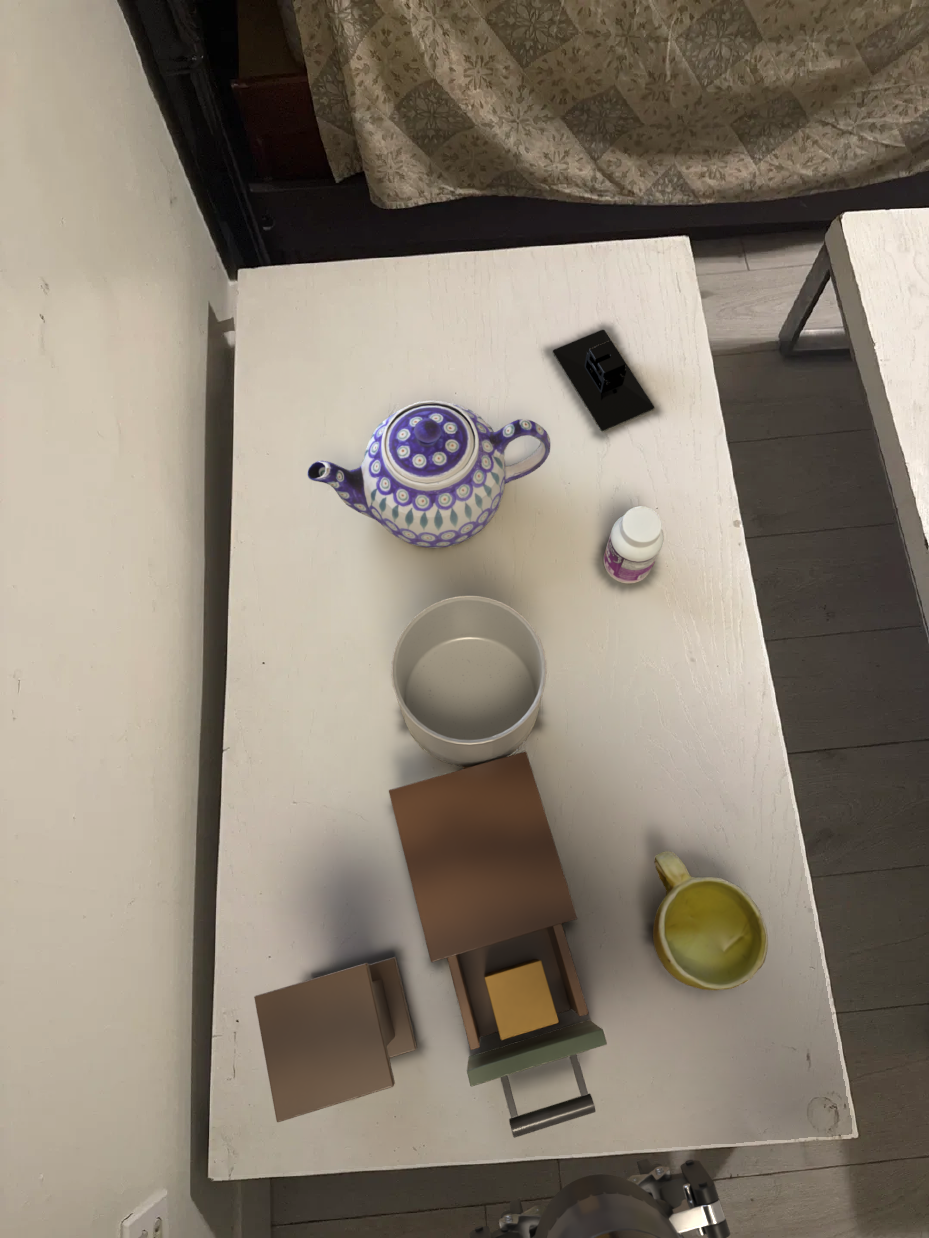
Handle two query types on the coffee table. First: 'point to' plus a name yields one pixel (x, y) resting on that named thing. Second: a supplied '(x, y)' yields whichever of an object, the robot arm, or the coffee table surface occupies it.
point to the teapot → (433, 472)
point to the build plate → (603, 380)
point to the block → (521, 998)
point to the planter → (469, 679)
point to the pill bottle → (634, 545)
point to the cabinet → (480, 856)
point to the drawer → (536, 1049)
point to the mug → (707, 929)
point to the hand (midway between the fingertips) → (583, 1197)
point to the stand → (334, 1037)
